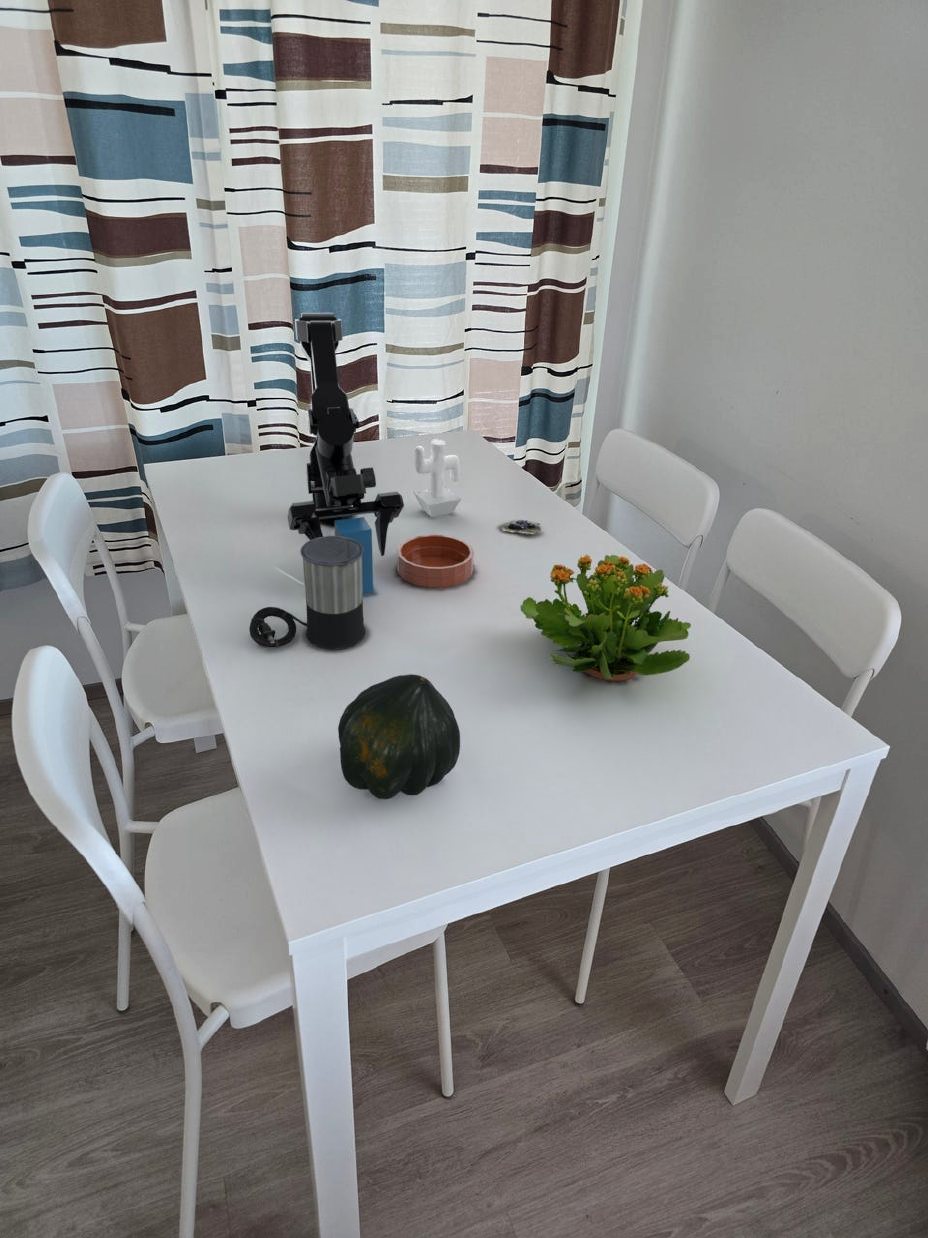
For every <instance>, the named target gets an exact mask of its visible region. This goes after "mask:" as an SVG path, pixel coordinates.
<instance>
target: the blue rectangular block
mask: <svg viewBox="0 0 928 1238" xmlns="http://www.w3.org/2000/svg"><path fill="white" fill-rule="evenodd" d="M334 524H335V526H334V536H342V537H346V538H351V539H353V540H355V541H357V542H359V543H360V544H361V545H362V547H363V548H364V552H363V554H362V586H363V595H368V594H369V595H370V594H374V570H373V568H374V567H373V566H374V565H373V531H372V528H371V526H370V524H369V523H368V521H367V520H366V518H365V517H364V516H362V517H353V518H352V517H351V518H348V519H343V520H335V521H334Z"/></svg>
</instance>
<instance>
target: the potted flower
mask: <svg viewBox="0 0 928 1238" xmlns="http://www.w3.org/2000/svg"><path fill="white" fill-rule="evenodd" d="M630 561H631V560H630V559H629V558H628V557H625V556H622V555H621V556H619V555H616V554H611V555H608V554H606V555H605V556H604V560H603V559H600V560H599V561H598V562H597V566H595V568H594V571H593V574H590V575H589V577H588V576H587V571H590V570H592V568H591V566H592V562H593V559H592V558H591V556H590V555H588V554H585V555H584V556H580V558H578V560H577V568H578V569H579V570H580V573H578V574H577V575H576V577H573V576H572V575H574V574H575V573H576V572H575V571H574V570H573V569H571V568H568V567H566V565H563V564H554V565H553V566H552V569H551V572H550V573H549V574H550V575H549V576H550V582H552V583H553V584H554V585H555V586H556V588H557V589H555V590H554V593H555V594H556V595H558V597H559V598H554V599H553V601H550V599H548V598H546V599H544V600H540V601H538V602H537V601H536V600H535V599H534V598H532V597H531V596H528V597H527V598H525V599H524V600H523V601H522V604H521V605H520V611H521V612H522V613H523V615H525V618H526V619H530V620H531V619H532V620H533V622H534V623H535V624H534V627H535V628H536V629H538V630H542V631H540V635H542V637H545V638H546V639H548V640H551V641H552V643H553V644H557V645H559V646H561V647H562V648H558V649H556V650H555V651H556V652H565V655H566V656H567V657H564V656H561V655H557V654H553V653H550V654H549V656H550V658H551V661H552V662H553V664H554V665H556V666H565V667H573V668H572V672H573V673H584V672H585V673H588V674H589V675H590V676H592V677H595V678H597V679H600V680H605V681H609V682H611V681H616V682H620V681H627V680H631V679H632V678H634V677H635V676H637V675H638V674H639V675H641V676H656V675H661V674H665V673H669V672H672V671H675V670H676V669H678V668H680V667H682V666H684V664H685V663H687V662H689V661H690V658H691V656H690V655H691V654H689V653H688V652H687V651H686V650H681V649H678V650H675V649H673V650H665V651H662V652H660V653H659V651H656V652H654V653H651V652H652V651H653V650H654V649H655V647H656V646H657V645H658V644H659V643H664V642H674V641H682V640H683V641H684V640H686V639H688V637H689V629H690V628H691V627H692V624H691V623H690V622H688V621H685V622H683V621H681V620H679V617H676V618H675V619H672V618H670V614H671V610H668V611H667V612H666V613H665V615H664V616H663V613H662V612H660V611H659V610H655V611H651V610H650V609H651V607H652V606H653V605H654V603H655V602H656V601H657V600H658V599H659V598H661V597H665V598H669V597H670V596H669V594H668V593H669V590H668V589H669V585H664V584H663V583H664V579H665V576H666V575H665V573H664V570H663V569H657V570H655V571H654V572H653V570H652V568H651V566H649V565H648V564H645V563H640V564H635V565H634V564H633V563H630ZM634 566H635V567H634ZM571 576H572V577H571ZM574 581H575V582H576V583H577V587H578V589H579V591H580V592H581V594H582V598H583V600H584V603H585V605H586V609H587V612H585V613H582V610H581V609H580V607H579V605H577V603H573V604H571V603H569V601H568V597H567V590H566V585H568V584H571V583H574ZM562 590H563V594H562ZM662 616H663V617H662ZM633 623H634V624H633ZM578 645H579V646H578ZM568 653H576V655H577V656H572V655H570V654H568ZM649 653H650V654H649Z"/></svg>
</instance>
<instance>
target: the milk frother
mask: <svg viewBox="0 0 928 1238" xmlns="http://www.w3.org/2000/svg"><path fill="white" fill-rule="evenodd" d="M363 552H364V548H363V547H362V545H361V544H360V543H359V542H357V541H355V540H353V539H351V538H346V537H342V536H335V535H326V536H323V537H318V538H315V539H312V540H308V541H306V542H305V543H304V544H302V546H301V547H300V550H299V553H300V556H301V557H302V564H303V565H302V567H303V578H304V579H303V580H304V592H305V605H306V606H305V607H306V622H305V621H303V620H301V619H299V618H297V617H296V616H295V615H293V613H290V612H289V611H286V610H285V609H283V608H280V607H275V606H266V607H263V608H260V609H259V610H258V611H257V612H255V614H254V615H253V616H252V618H250V619H251V620H250V622H249V627H248V628H249V629H248V630H249V635H250V637H251V639H252V640H253V642H255V643H256V644H258V645H259V646H261V647H264V648H270V649H271V648H281V647H284V646H286V645H288V644H290V643H291V642H292V641H293V640H294V638H295V637H296V633H297V625H296V622H298V623H299V624H301V626H304V627H306V630H305V637H306V639H307V641H308V642H309V643H310V644H312V645H314V646H316V647H318V648H321V649H326V650H343V649H347V648H350V647H354V646H356V645H357V644H359V643H360V642H361V641H363V640H364V638H365V637H366V633H367V630H366V627H365V624H364V621H365V620H364V619H365V618H364V611H363V610H364V605H363V604H364V599H363V596H364V594H363V586H362V554H363ZM268 617H274V618H278V619H281V620H283V621H284V622H285V623H286V624H287V632H286V633H285V635H284V636H283V637H281V638H277V639H275V637H276V630H275V629H272V628H271V626H270V625H269V623H267V622H266V621H265V620H266V619H267V618H268ZM295 621H296V622H295Z"/></svg>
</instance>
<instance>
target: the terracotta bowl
mask: <svg viewBox="0 0 928 1238" xmlns="http://www.w3.org/2000/svg"><path fill="white" fill-rule="evenodd" d="M474 553H475V552H474V550H473V547H472V545H470V543H468V542H467V541H465V540H463V539H460V538H458V537H455V536H450V535H444V534H425V535H418V536H414V537H412V538H408V539H406V540H404V541H403V542H401V543H400V544H399V546H398V548H397V550H396V560H397V561H396V565H397V566H396V567H397V568H396V569H397V573H398V575H399V576H400V577H401V578H402V579H403V580H404V581H405V582H408V583H410V584H412V585H414V586H418V587H424V588H434V589H442V588H449V587H454V586H458V585H460V584H463V583H465V582H466V581H467V580H468V579H470V578H471V577H472V575H473V572H474V558H475V556H474V555H475V554H474Z"/></svg>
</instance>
